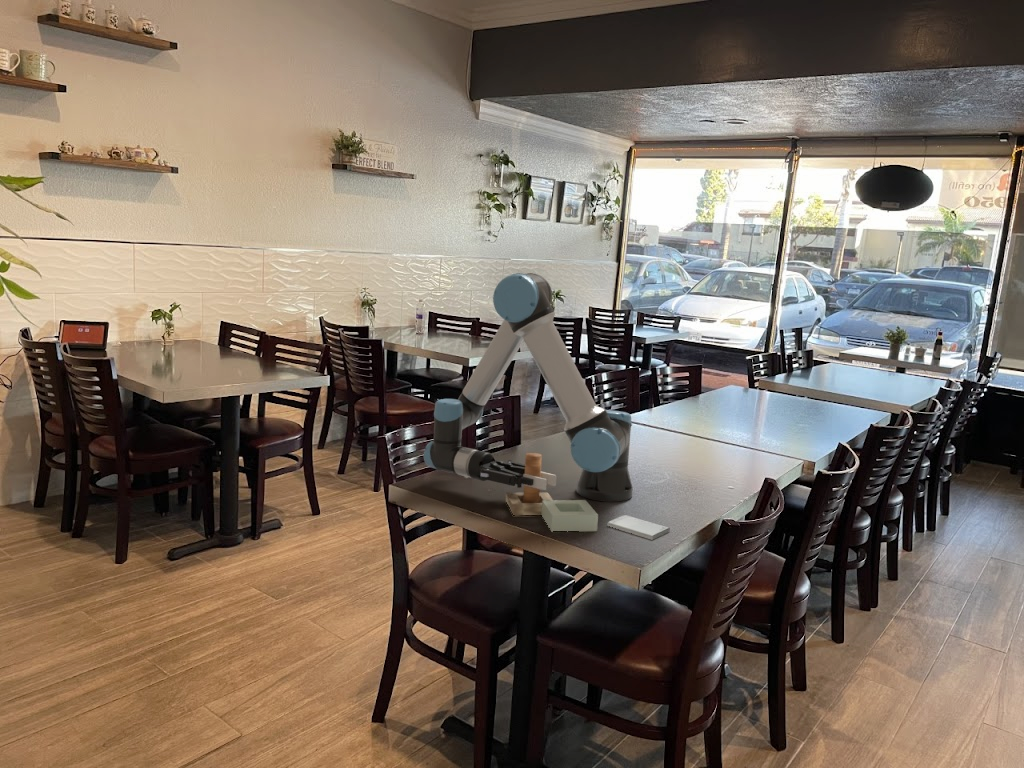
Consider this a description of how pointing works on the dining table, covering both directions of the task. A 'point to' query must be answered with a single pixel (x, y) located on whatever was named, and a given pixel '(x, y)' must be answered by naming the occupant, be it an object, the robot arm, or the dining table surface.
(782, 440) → the dining table surface
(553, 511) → the socket block
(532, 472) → the peg
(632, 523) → the hard drive
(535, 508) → the holder
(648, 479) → the dining table surface
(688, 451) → the dining table surface
